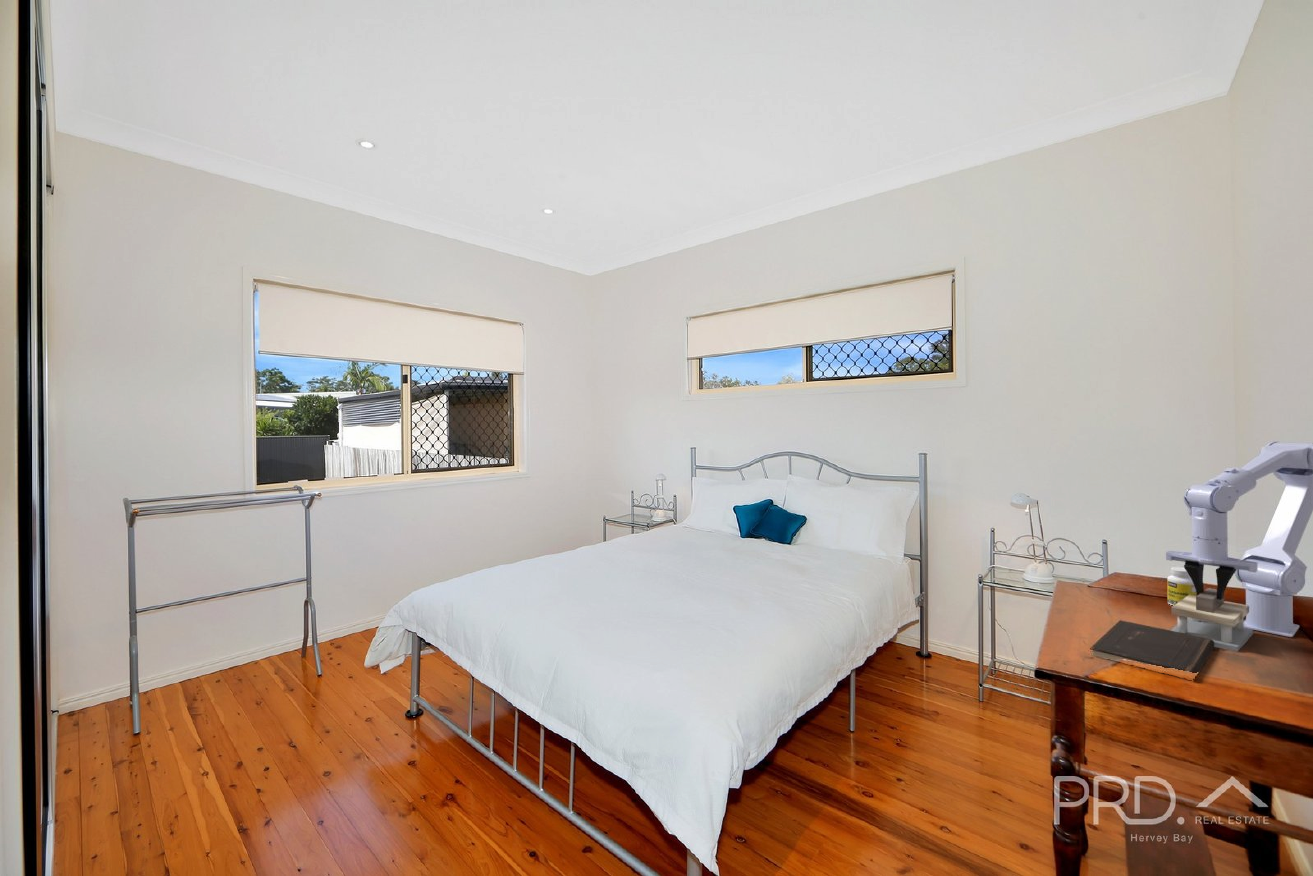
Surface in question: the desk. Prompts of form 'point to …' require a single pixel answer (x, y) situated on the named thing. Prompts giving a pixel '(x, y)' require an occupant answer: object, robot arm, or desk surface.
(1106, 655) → the hardcover book
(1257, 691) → the desk surface
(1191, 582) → the supplement bottle
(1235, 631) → the peg stand
